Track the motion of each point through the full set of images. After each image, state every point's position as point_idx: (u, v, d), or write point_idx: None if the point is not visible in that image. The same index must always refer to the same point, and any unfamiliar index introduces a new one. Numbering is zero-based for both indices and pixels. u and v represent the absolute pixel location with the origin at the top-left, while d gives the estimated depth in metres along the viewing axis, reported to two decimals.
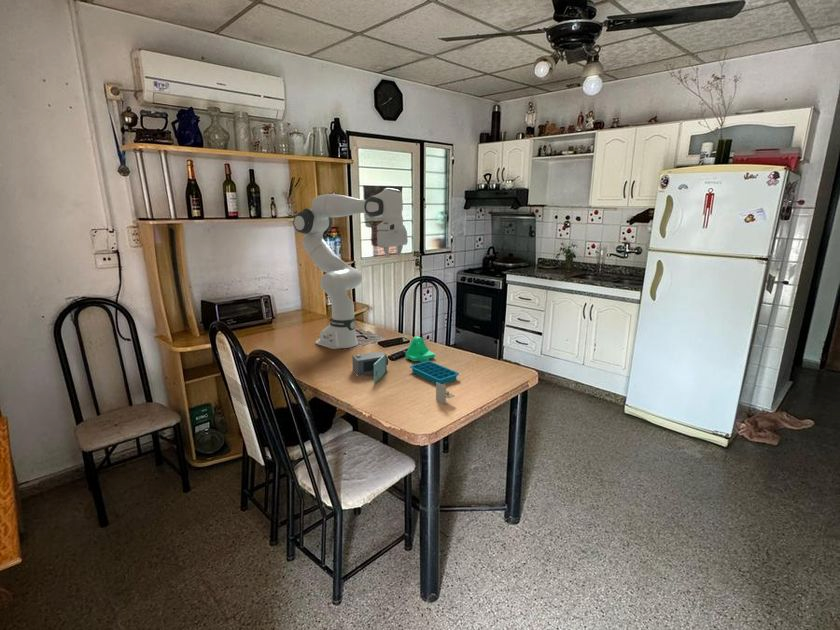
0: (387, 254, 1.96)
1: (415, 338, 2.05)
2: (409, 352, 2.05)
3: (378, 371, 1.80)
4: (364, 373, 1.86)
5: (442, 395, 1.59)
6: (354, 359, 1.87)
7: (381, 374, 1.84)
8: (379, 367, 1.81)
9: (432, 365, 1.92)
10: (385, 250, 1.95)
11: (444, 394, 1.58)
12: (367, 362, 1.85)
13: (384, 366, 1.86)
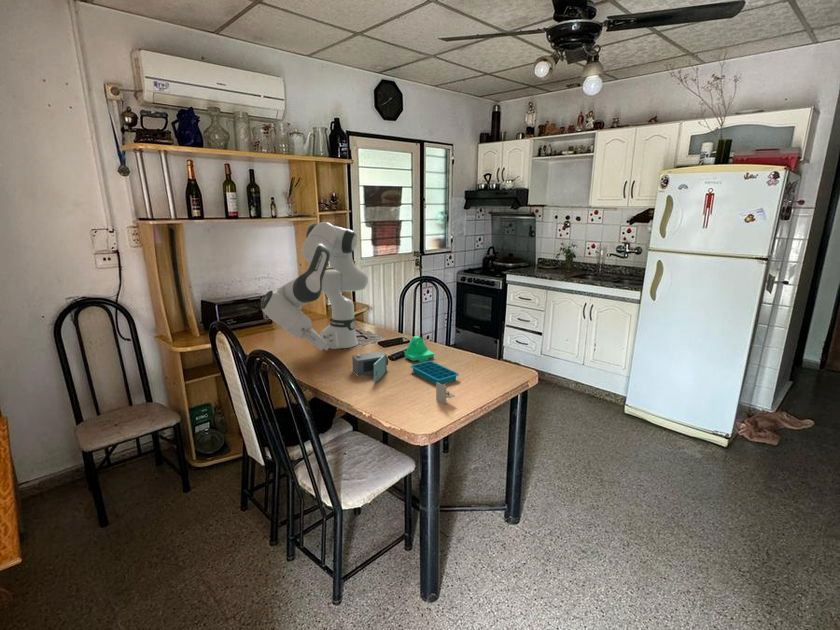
0: None
1: (414, 338, 2.06)
2: (408, 352, 2.06)
3: (378, 371, 1.80)
4: (364, 373, 1.86)
5: (443, 395, 1.59)
6: (354, 359, 1.87)
7: (381, 374, 1.84)
8: (379, 367, 1.81)
9: (433, 365, 1.92)
10: None
11: (444, 394, 1.58)
12: (367, 362, 1.85)
13: (384, 366, 1.86)
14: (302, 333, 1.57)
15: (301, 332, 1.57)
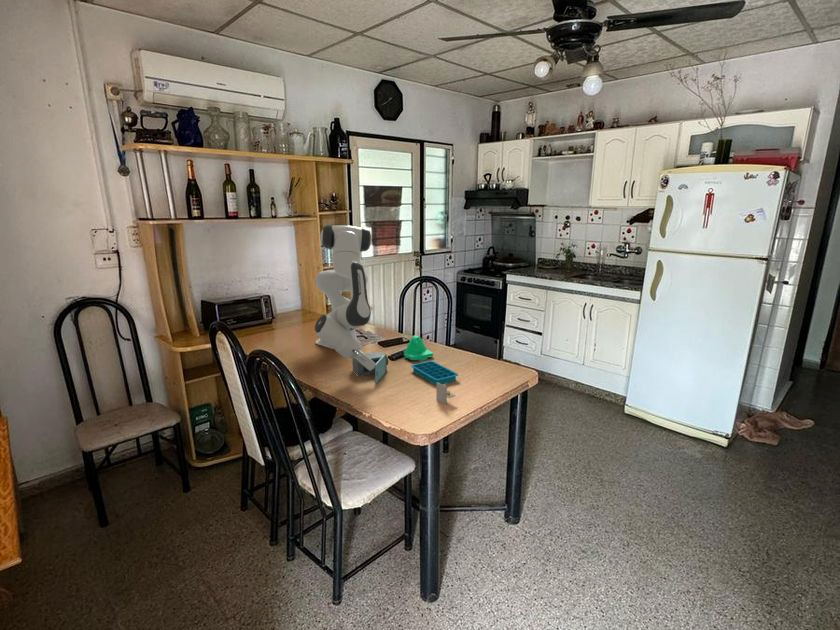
0: None
1: (413, 337, 2.07)
2: (407, 351, 2.06)
3: (379, 371, 1.80)
4: (364, 373, 1.86)
5: (443, 395, 1.59)
6: (354, 359, 1.87)
7: (382, 374, 1.84)
8: (380, 367, 1.81)
9: (434, 365, 1.92)
10: None
11: (445, 394, 1.58)
12: None
13: (384, 366, 1.86)
14: (352, 354, 1.68)
15: (351, 353, 1.68)
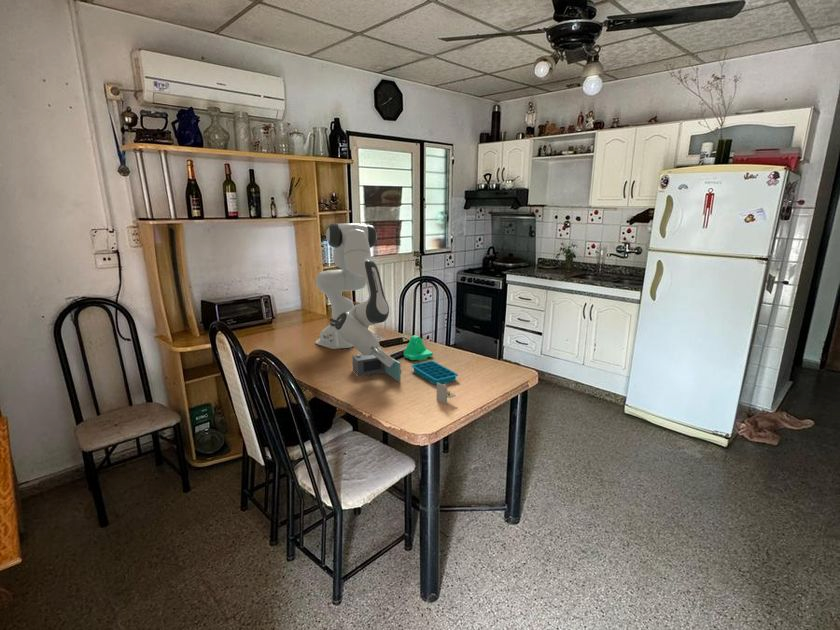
0: None
1: (413, 337, 2.07)
2: (407, 351, 2.07)
3: None
4: (364, 373, 1.86)
5: (444, 395, 1.59)
6: (354, 359, 1.87)
7: None
8: None
9: (434, 365, 1.92)
10: None
11: (445, 394, 1.58)
12: (367, 362, 1.85)
13: None
14: (371, 351, 1.71)
15: (370, 350, 1.71)
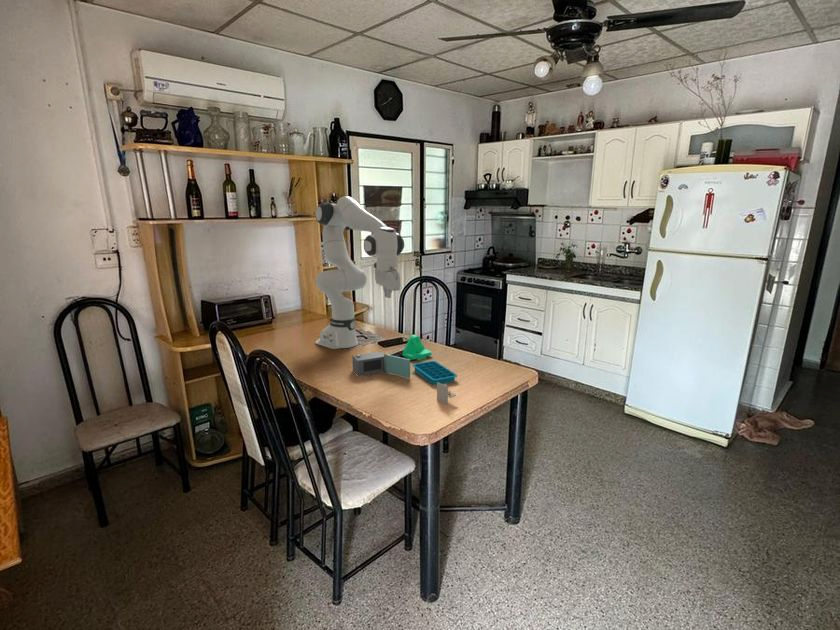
0: None
1: (412, 337, 2.08)
2: (406, 351, 2.07)
3: None
4: (364, 373, 1.86)
5: (444, 395, 1.59)
6: (354, 359, 1.87)
7: None
8: None
9: (435, 365, 1.92)
10: None
11: (446, 394, 1.58)
12: (367, 362, 1.85)
13: None
14: (388, 270, 1.84)
15: (388, 268, 1.84)
